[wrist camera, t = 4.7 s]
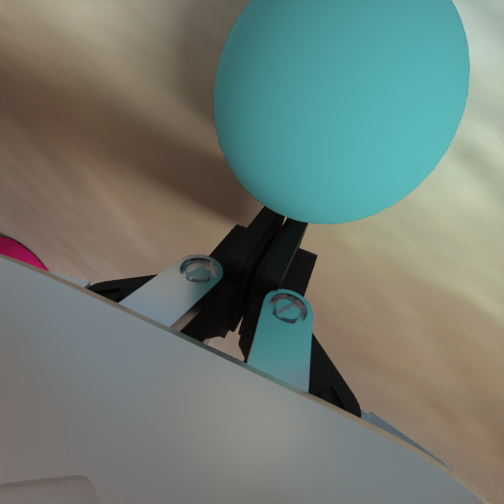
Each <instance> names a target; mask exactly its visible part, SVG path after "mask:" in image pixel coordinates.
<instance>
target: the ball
mask: <svg viewBox="0 0 504 504" xmlns="http://www.w3.org/2000/svg"><path fill="white" fill-rule="evenodd" d="M469 73H470V61H469V50H468V43H467V38H466V34H465V31H464V27H463V24H462V21H461V18H460V16H459V14H458V11H457V9H456V7H455V5H454V4H453V2H452V0H250V2H249V3H248V4H247V6H246V7H245V8H244V10H243V11H242V12H241V14H240V15H239V16H238V18H237V20H236V22H235V24H234V26H233V27H232V29H231V31H230V33H229V35H228V38H227V40H226V43H225V45H224V48H223V50H222V53H221V56H220V59H219V63H218V67H217V71H216V77H215V85H214V119H215V127H216V132H217V136H218V140H219V144H220V147H221V149H222V152H223V154H224V157H225V159H226V161H227V163H228V165H229V167H230V169H231V170H232V172H233V174H234V175H235V176H236V178H237V179H238V181H239V182H240V183H241V185H242V186H243V187H244V188H245V189H246V190H247V191H248V192H249V193H250V194H251V195H252V196H253V197H254V198H255V199H257V200H258V201H259V202H260V203H261V204H263V205H264V206H266V207H268V208H269V209H271V210H272V211H274V212H276V213H279V214H281V215H283V216H285V217H288V218H291V219H294V220H297V221H301V222H307V223H313V224H337V223H346V222H350V221H355V220H359V219H362V218H365V217H368V216H371V215H374V214H376V213H378V212H380V211H382V210H384V209H386V208H388V207H390V206H392V205H393V204H395V203H396V202H398V201H400V200H401V199H403V198H404V197H405V196H407V195H408V194H409V193H410V192H411V191H413V190H414V189H415V188H416V187H417V186H418V185H419V184H420V183H421V182H422V181H423V180H424V179H425V178H426V177H427V176H428V175H429V174H430V173H431V171H432V170H433V169H434V168H435V167H436V165H437V164H438V162H439V161H440V160H441V158H442V157H443V155H444V154H445V152H446V151H447V149H448V147H449V145H450V143H451V142H452V140H453V138H454V136H455V133H456V131H457V128H458V125H459V123H460V120H461V118H462V115H463V112H464V108H465V103H466V99H467V95H468V86H469Z"/></svg>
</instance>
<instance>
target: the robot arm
mask: <svg viewBox="0 0 504 504" xmlns="http://www.w3.org/2000/svg"><path fill="white" fill-rule="evenodd" d="M284 218H285V216H283V215H281V214H279V213H276V212H274V211H272V210H271V209H269V208H268V207H266V206H264V207H263V209H262V210H261V211H260V212H259V214H258V215H257V216H256V217H255V219H254V220H253V221H252V222H251V224H250V225H249V226H248V227H247V228H246V227H244V226H241V225H238V224H237V225H236V226H235V227H234V228H233V229H232V230H231V231H230V232H229V234H228V235H227V236H226V237H225V238H224V239H223V240H222V242H221V243H220V244H219V245H218V246H217V247H216V248H215V250H214V251H213V252H212V253H211V254H210V255H209V256H206V255H200V254H193V255H188V256H185V257H183V258H181V259H179V260H178V261H177V262H175V263H174V264H172V265H171V266H170V267H168V268H167V269H165V270H164V271H163V272H161V273H160V274H157V275H150V276H142V277H135V278H127V279H119V280H112V281H105V282H100V283H96V284H94V285H90V281H87V280H83V279H78V278H74V277H70V276H66V275H61V274H57V273H53V272H48V271H45V270H43V269H40V268H38V267H35V266H33V265H30V264H28V263H25V262H22V261H20V260H17V259H14V258H11V257H8V256H5V255H1V254H0V504H491V503H490V502H489V501H488V500H487V499H486V498H484V497H483V496H482V495H481V494H480V493H479V492H478V491H476V490H475V489H474V488H473V487H472V486H471V485H470V484H468V483H467V482H466V481H465V480H463V479H462V478H461V477H459V476H458V475H457V474H455V473H454V472H453V470H452V469H450V468H449V467H448V466H447V465H446V464H445V463H444V462H443V461H441V460H440V459H438V458H437V457H435V456H434V455H433V454H431V453H430V452H428V451H427V450H426V449H424V448H423V447H421V446H420V445H418V444H417V443H416V442H414V441H413V440H411V439H410V438H408V437H407V436H406V435H404V434H403V433H401V432H400V431H399V430H397V429H396V428H394V427H393V426H391V425H390V424H389V423H387V422H386V421H384V420H383V419H381V418H380V417H379V416H377V415H376V414H374V413H373V412H372V411H371V412H370V413H369V414H367V413H366V412H364V411H363V410H362V409H360V406H359V403H358V401H357V399H356V398H355V396H354V394H353V393H352V391H351V390H350V388H349V387H348V385H347V384H346V382H345V381H344V379H343V378H342V376H341V375H340V373H339V372H338V370H337V369H336V367H335V366H334V364H333V363H332V361H331V360H330V358H329V357H328V355H327V354H326V352H325V351H324V349H323V348H322V346H321V345H320V343H319V342H318V340H317V339H316V337H315V336H314V334H313V333H312V322H313V312H312V308H311V306H310V304H309V302H308V301H307V300H306V299H305V298H304V295H305V292H306V289H307V286H308V283H309V280H310V277H311V274H312V271H313V268H314V265H315V262H316V259H317V255H316V254H313V253H311V252H308V251H305V250H303V249H300V248H299V247H300V244H301V241H302V239H303V236H304V233H305V231H306V228H307V225H308V223H307V222H301V221H297V220H294V219H291V218H287V219H286V221H285V223H284V224H283V222H284ZM282 225H283V226H282ZM242 317H243V319H242ZM241 319H242V322H241V326H240V329H239V333H238V334H239V335H241V337H240V340H239V343H238V344H239V347H240V349H241V351H242V353H243V356H244V361H243V362H242V361H240V360H238V359H236V358H234V357H232V356H230V355H228V354H225V353H223V352H221V351H219V350H217V349H215V348H213V347H211V346H208V343H209V341H210V338H213V337H218V336H220V337H222V338H225V336H226V335H227V333H228V331H229V330H230V331H232V332H234V331H235V330H236V328H237V326H238V324H239V322H240V321H241Z"/></svg>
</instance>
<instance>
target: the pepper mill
mask: <svg viewBox="0 0 504 504" xmlns="http://www.w3.org/2000/svg"><path fill="white" fill-rule="evenodd" d="M0 254H1V255H5V256H8V257H11V258H14V259H17V260H20V261H22V262H25V263H28V264H30V265H33V266H35V267H38V268H40V269H43V270H45V271H48V270H47V269H46V268H45V266H44V265H43V264H42V263H41V262H40V260H39V259H38V258H37V257H36V256H35V255H34V254H33V253H32V252H30V251H29V250H28V249H27V248H25V247H24V246H23V245H21V244H19V243H17V242H16V241H14V240H11V239H7V238H0Z"/></svg>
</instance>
